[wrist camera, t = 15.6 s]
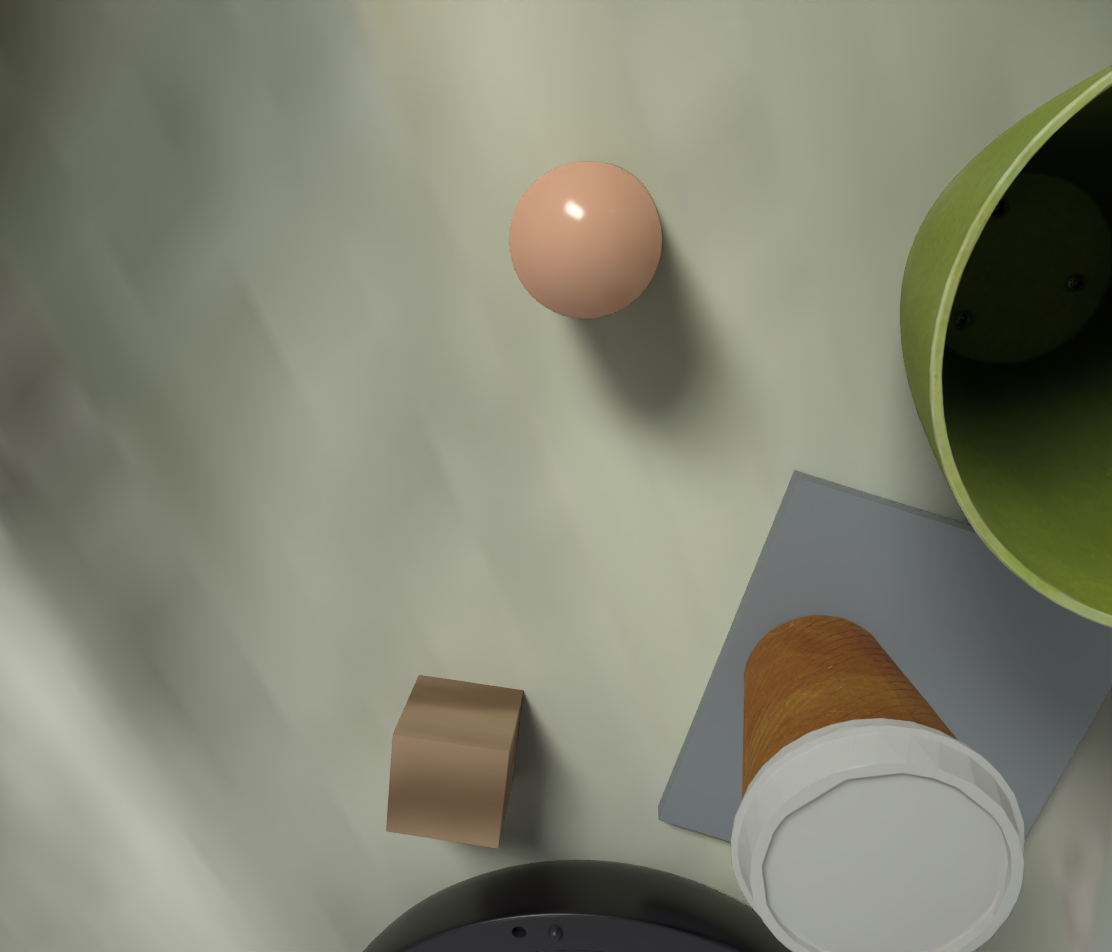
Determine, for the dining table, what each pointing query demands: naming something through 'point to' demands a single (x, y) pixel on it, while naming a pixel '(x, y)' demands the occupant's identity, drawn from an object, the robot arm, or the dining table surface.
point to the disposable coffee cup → (865, 804)
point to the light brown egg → (586, 239)
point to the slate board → (905, 644)
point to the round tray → (578, 914)
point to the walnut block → (454, 761)
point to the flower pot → (1025, 345)
